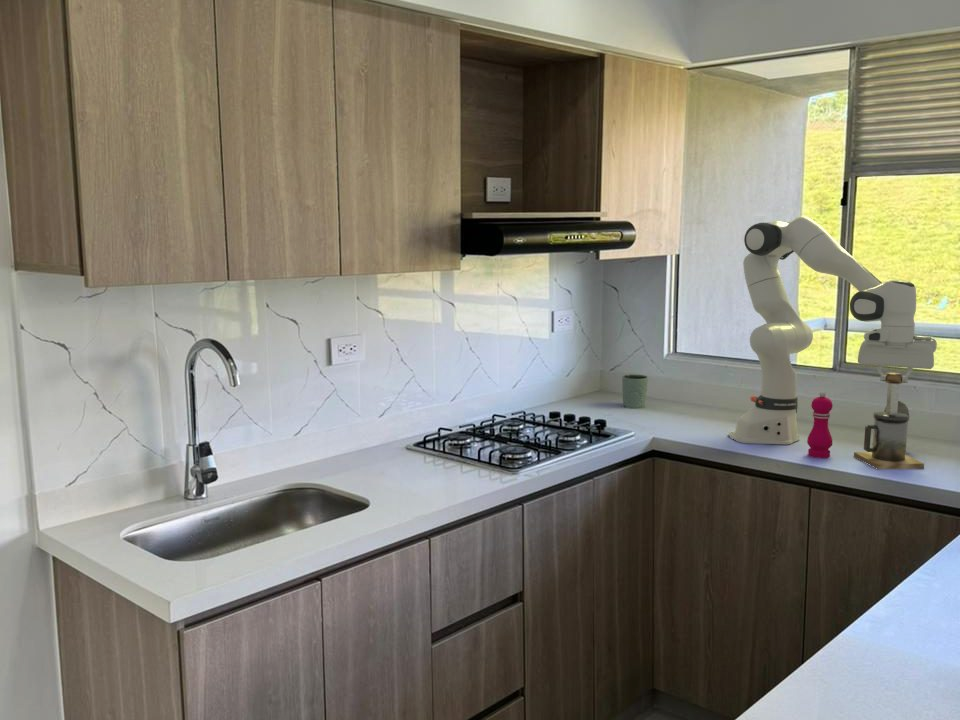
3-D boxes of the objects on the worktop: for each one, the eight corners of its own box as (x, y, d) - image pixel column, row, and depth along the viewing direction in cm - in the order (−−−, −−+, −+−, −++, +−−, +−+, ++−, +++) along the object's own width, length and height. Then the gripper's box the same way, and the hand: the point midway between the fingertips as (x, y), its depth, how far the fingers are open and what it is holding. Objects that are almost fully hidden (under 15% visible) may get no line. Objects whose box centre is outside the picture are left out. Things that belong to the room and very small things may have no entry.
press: (872, 462, 252) (877, 386, 248) (856, 453, 261) (861, 380, 258) (912, 461, 252) (918, 386, 249) (895, 453, 262) (900, 380, 258)
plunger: (888, 415, 253) (891, 375, 251) (880, 412, 257) (883, 372, 255) (902, 415, 253) (905, 374, 251) (894, 412, 257) (897, 372, 255)
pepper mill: (811, 451, 270) (814, 388, 267) (834, 455, 265) (838, 391, 262) (803, 456, 264) (806, 392, 261) (827, 460, 260) (831, 394, 257)
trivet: (877, 469, 250) (877, 464, 249) (853, 456, 264) (854, 452, 263) (924, 468, 250) (924, 463, 250) (898, 456, 264) (898, 451, 264)
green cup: (632, 402, 347) (633, 373, 345) (652, 406, 339) (653, 376, 337) (616, 406, 340) (616, 376, 339) (635, 410, 333) (636, 379, 331)
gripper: (937, 335, 250) (933, 382, 252) (860, 332, 259) (857, 377, 261) (937, 338, 244) (933, 386, 246) (858, 334, 253) (855, 380, 255)
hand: (893, 381), depth 253 cm, fingers closed on plunger, 4 cm apart
